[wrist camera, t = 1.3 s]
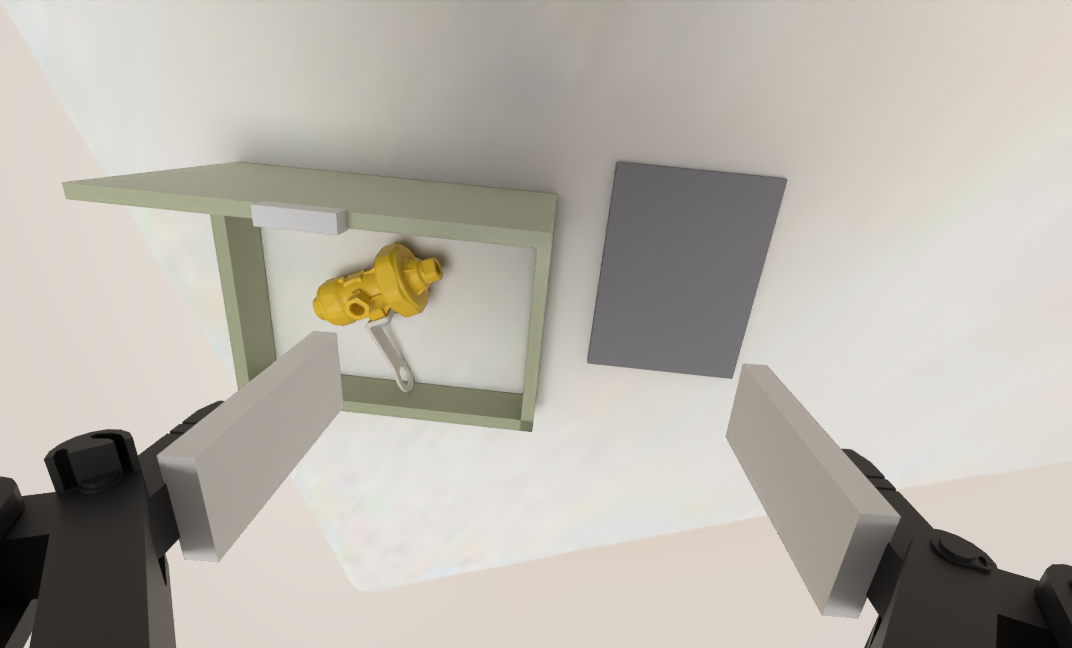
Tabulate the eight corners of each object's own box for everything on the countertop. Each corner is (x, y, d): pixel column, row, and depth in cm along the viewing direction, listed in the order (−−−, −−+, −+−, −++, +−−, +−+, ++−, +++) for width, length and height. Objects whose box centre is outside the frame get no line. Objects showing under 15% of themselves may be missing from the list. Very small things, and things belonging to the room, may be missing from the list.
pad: (616, 161, 35) (617, 162, 35) (784, 178, 35) (787, 179, 35) (587, 360, 41) (587, 363, 41) (729, 375, 41) (732, 378, 41)
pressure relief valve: (315, 265, 39) (429, 224, 38) (388, 378, 45) (490, 346, 43) (286, 298, 35) (414, 252, 33) (372, 419, 40) (485, 385, 39)
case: (238, 160, 37) (38, 182, 23) (557, 192, 36) (552, 235, 22) (267, 376, 44) (127, 494, 30) (534, 405, 43) (520, 539, 29)
